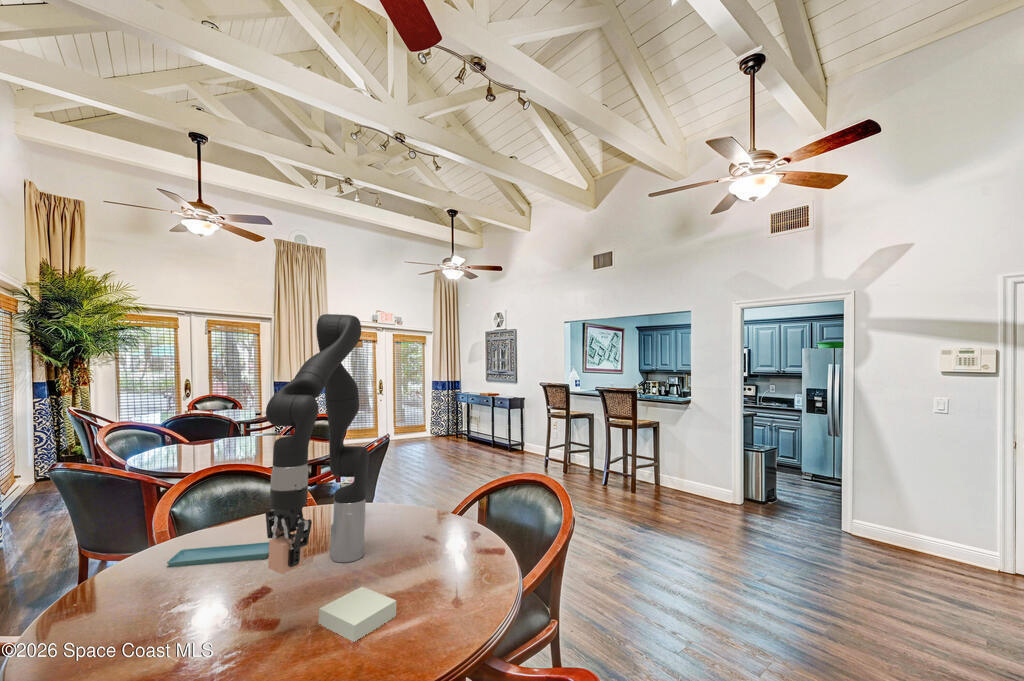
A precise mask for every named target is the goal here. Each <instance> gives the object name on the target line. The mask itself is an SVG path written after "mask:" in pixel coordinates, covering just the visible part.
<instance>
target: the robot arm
mask: <svg viewBox="0 0 1024 681" xmlns="http://www.w3.org/2000/svg"><path fill="white" fill-rule="evenodd" d="M361 336H362V324H361V321H360V319H359V318H358V317H357V316H355V315H351V314H332V313H328V314H327V313H325V314H322V315H320V316H319V317H318V319H317V323H316V338H317V340H316V341H317V345H318V350H319V352H318V353H316V354H314V355H313V356H311V357H309V359H307V360H306V361H305V362H304V363H303V364H302V366H301V367H300V368H299V370H298V372H297V373H296V374H295V376H294V377H293V379H292V380H290V381H289V382H287V384H285V385H284V386H283V387H281V388H280V389H279V390H278V391H277V392H275V394H273V395H272V396H271V398H270V399H269V401H268V403H267V406H266V409H265V417H266V419H267V421H268V423H269V424H271V425H273V426H275V427H276V426H277V427H295V430H294V432H293V434H292V435H287V436H283V437H282V436H281V437H279V438H277V439H276V440H275V441H274V444H273V454H272V470H271V475H270V485H269V486H270V487H269V488H270V489H269V490H270V491H269V509H270V510H267V511H265V523H266V534H267V535H266V536H267V539H269V540H271V539H274V538H278V537H280V536H283V535H285V539H286V540H288V543H289V549H290V550H289V556H288V566H289V567H293V566H296V565H298V564H299V561H300V548H301V547H303V546H304V547H306V546H308V544H309V539H310V535H311V534H310V533H311V528H312V519H310V518H309V519H305V518H304V513H303V509H304V507H305V506H306V505H307V504H308V497H309V496H308V493H309V492H308V491H309V486H308V485H309V445H310V441H311V437H312V433H313V431H314V426H315V424H316V421H317V418H318V415H319V410H320V409H319V403H318V401H317V398H318V397H320V396H321V393H322V392H323V391H324V397H325V400H324V401H325V408H326V415H327V423H328V424H327V425H328V436H329V437H328V439H329V443H328V444H329V448H328V449H329V469H330V472H331V475H332V476H334V477H337V478H347V477H354V482H353V483H352V484H350V485H347V486H344V487H341V488H340V487H339V488H338V489H336V490H335V491H334V495H333V518H332V520H333V521H332V522H333V523H331V525H330V542H329V544H330V545H329V556H330V557H331V560H332V561H334V562H336V563H350V562H354V561H358V560H359V559H361V558H362V557H363V556H364V552H365V532H366V531H365V527H366V526H365V525H366V498H367V485H368V474H369V473H368V471H369V462H370V461H369V460H370V459H369V458H370V456H369V455H370V454H369V450H368V448H367V447H366V446H361V445H360V446H359V445H358V446H355V445H354V446H350V445H348V446H347V445H345V444H344V438H345V434H346V432H347V430H348V428H350V425H351V424H352V423H353V421H354V419H356V418H355V417H356V416H357V415H358V412H359V410H360V397H359V396H360V395H359V387H358V385H357V383H356V381H355V379H354V378H353V376H352V375H351V374H350V373H349V371H347V370H348V369H346V368H345V366H344V365H343V363H342V362H343V361H344V360H345V359H346V358H347V357H348V356H349V354H351V352H352V351H353V350H354V349H355V348H356V346H357V344H358V343H359V342H360V339H361ZM293 532H294V533H293ZM290 533H292V534H290ZM294 537H296V538H295V543H294V542H293V538H294ZM302 538H303V541H302Z"/></svg>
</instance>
